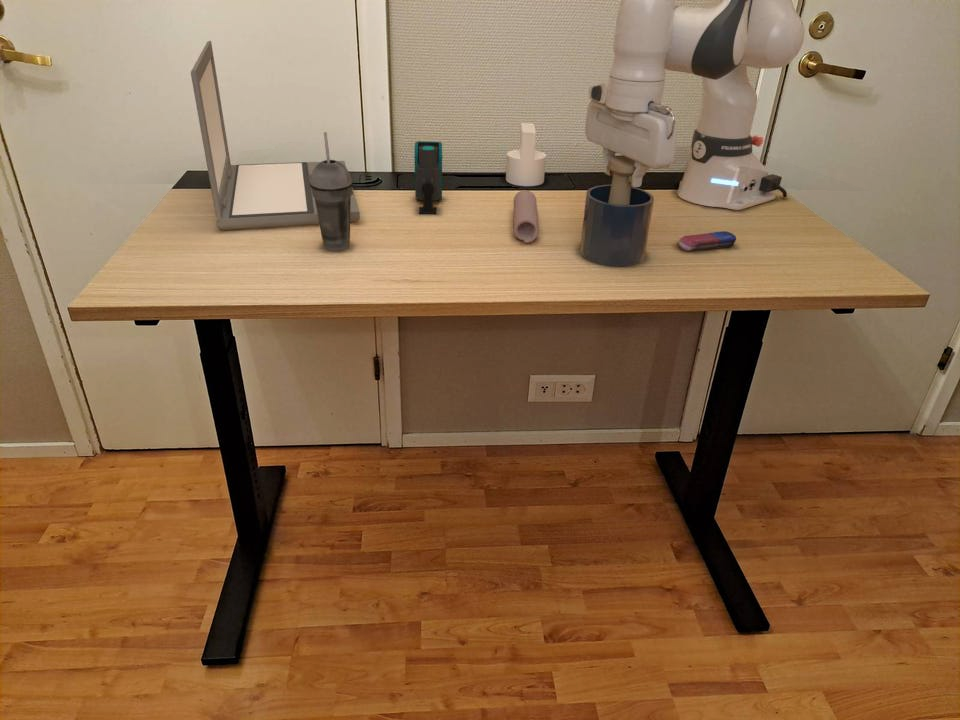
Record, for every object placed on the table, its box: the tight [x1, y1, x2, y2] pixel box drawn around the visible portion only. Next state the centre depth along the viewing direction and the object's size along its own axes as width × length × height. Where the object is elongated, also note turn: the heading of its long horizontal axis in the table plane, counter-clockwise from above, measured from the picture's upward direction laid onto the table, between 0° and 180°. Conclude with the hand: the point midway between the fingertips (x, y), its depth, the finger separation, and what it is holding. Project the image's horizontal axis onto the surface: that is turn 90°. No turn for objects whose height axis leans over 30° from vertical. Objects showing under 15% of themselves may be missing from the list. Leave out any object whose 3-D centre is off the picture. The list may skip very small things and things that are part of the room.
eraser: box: [678, 230, 737, 252], centre depth 131 cm, size 11×4×2 cm, turn 107°
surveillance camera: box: [413, 140, 443, 215], centre depth 142 cm, size 6×12×10 cm
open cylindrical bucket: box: [579, 184, 655, 268], centre depth 124 cm, size 12×12×11 cm
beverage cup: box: [310, 131, 354, 253], centre depth 120 cm, size 7×7×20 cm
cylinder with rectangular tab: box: [505, 122, 547, 187], centre depth 160 cm, size 9×9×12 cm
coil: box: [513, 189, 540, 244], centre depth 136 cm, size 5×5×18 cm
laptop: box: [190, 40, 361, 231], centre depth 139 cm, size 35×26×28 cm
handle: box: [608, 155, 636, 205], centre depth 122 cm, size 5×6×15 cm
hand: (622, 180), depth 120 cm, fingers closed on handle, 5 cm apart
